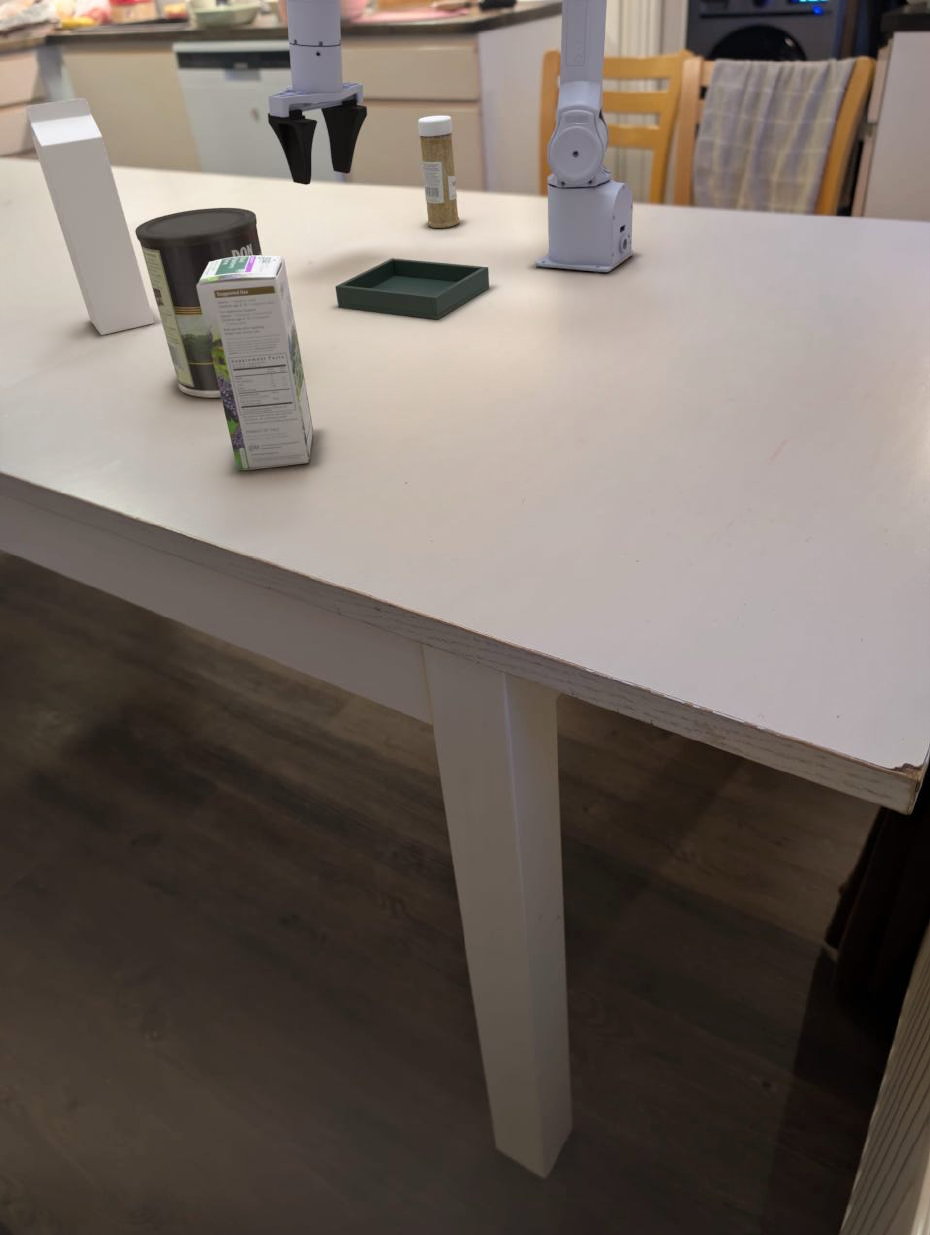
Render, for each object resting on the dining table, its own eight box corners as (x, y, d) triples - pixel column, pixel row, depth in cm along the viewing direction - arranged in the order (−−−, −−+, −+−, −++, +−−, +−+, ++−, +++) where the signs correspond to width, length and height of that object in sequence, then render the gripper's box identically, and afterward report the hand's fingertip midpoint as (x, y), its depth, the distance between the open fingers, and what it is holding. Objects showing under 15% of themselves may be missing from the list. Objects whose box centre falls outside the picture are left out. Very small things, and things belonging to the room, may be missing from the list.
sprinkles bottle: (465, 224, 127) (458, 116, 119) (438, 230, 125) (428, 121, 117) (448, 218, 130) (439, 113, 122) (421, 225, 129) (410, 118, 121)
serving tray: (489, 287, 103) (488, 267, 102) (437, 319, 96) (435, 297, 94) (394, 277, 109) (391, 258, 108) (338, 307, 102) (335, 286, 100)
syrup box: (245, 440, 75) (202, 259, 66) (316, 433, 75) (283, 251, 66) (237, 472, 70) (190, 282, 62) (313, 464, 70) (277, 273, 62)
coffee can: (307, 365, 88) (279, 210, 79) (233, 406, 81) (194, 241, 73) (230, 351, 92) (196, 203, 84) (154, 388, 86) (109, 231, 77)
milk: (155, 324, 102) (93, 100, 88) (100, 336, 100) (29, 108, 86) (142, 310, 106) (82, 95, 93) (89, 321, 104) (20, 103, 91)
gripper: (327, 36, 107) (333, 162, 115) (242, 44, 97) (255, 182, 105) (376, 41, 104) (378, 171, 112) (293, 51, 94) (303, 192, 102)
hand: (322, 177), depth 108 cm, fingers open, 7 cm apart
